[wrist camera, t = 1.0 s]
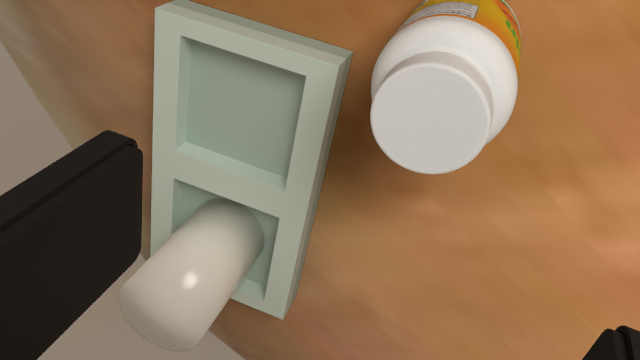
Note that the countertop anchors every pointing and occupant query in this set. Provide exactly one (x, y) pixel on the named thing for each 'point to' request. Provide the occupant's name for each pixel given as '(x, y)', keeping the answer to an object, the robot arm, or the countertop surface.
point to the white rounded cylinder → (192, 275)
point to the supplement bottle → (446, 83)
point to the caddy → (243, 133)
